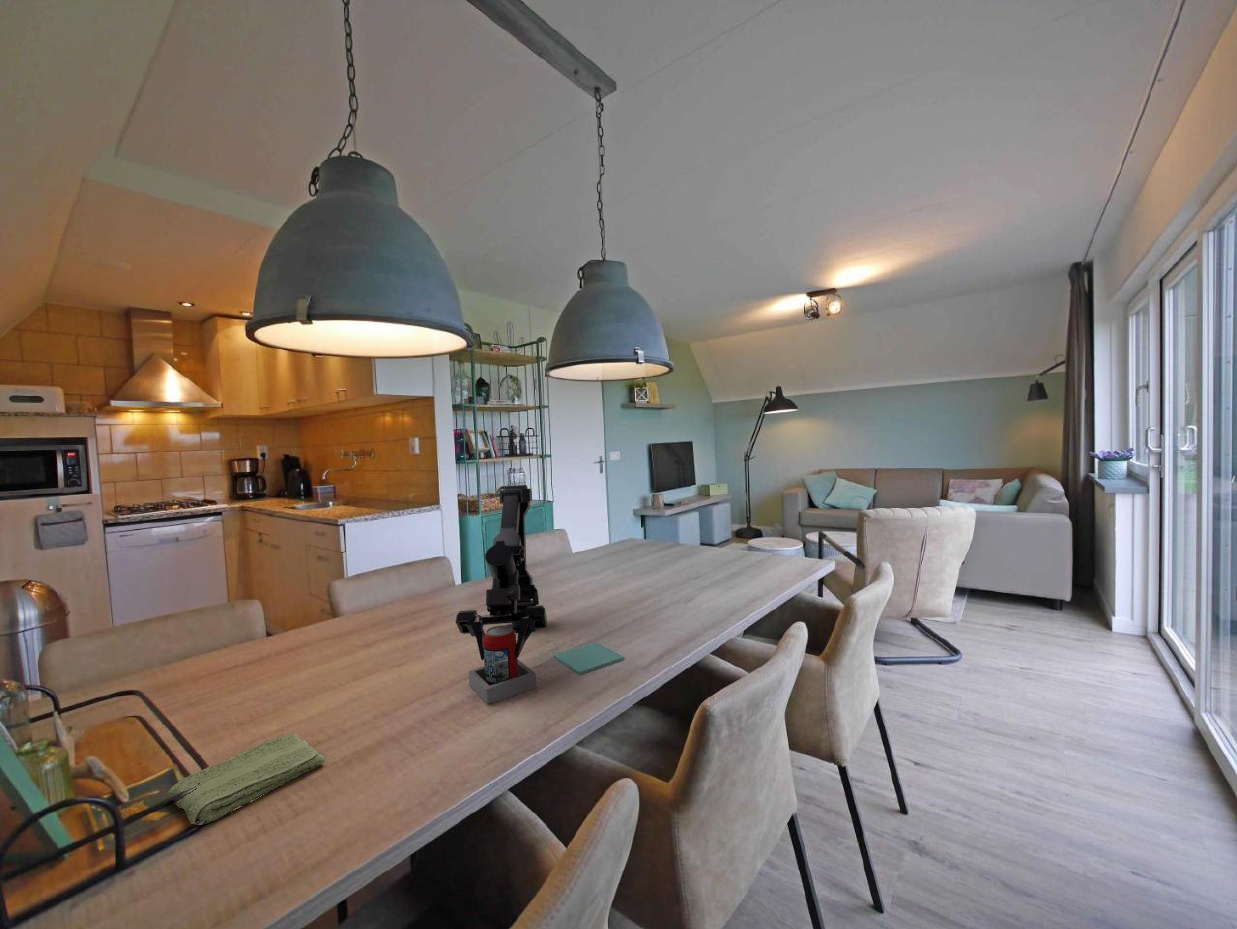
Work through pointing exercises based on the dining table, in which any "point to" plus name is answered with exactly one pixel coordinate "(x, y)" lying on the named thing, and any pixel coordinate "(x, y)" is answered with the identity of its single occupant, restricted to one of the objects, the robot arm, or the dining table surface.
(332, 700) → the dining table surface
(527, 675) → the can holder
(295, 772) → the washcloth
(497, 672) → the beverage can
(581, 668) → the teal mat
